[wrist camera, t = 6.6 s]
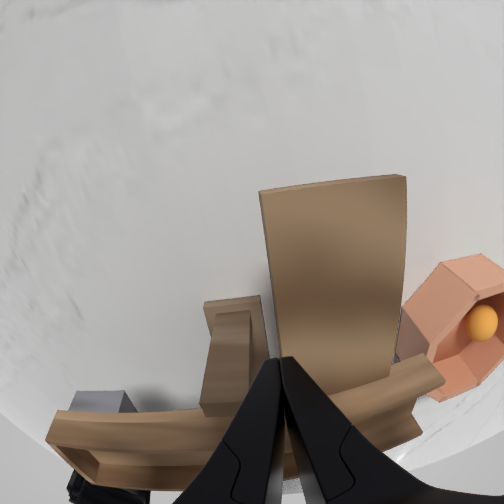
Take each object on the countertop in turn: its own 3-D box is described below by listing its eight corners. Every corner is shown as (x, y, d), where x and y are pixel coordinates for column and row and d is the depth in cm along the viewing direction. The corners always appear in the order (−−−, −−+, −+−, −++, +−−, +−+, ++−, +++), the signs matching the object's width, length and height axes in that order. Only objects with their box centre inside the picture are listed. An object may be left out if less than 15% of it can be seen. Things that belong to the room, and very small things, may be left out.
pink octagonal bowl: (478, 347, 24) (500, 374, 19) (389, 376, 24) (407, 414, 20) (503, 248, 19) (537, 270, 15) (405, 268, 20) (438, 301, 15)
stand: (275, 395, 25) (281, 480, 16) (232, 399, 25) (227, 482, 17) (259, 295, 21) (263, 391, 12) (204, 301, 21) (180, 395, 13)
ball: (484, 325, 21) (496, 346, 18) (457, 329, 22) (468, 352, 19) (492, 295, 20) (507, 315, 17) (464, 299, 21) (478, 320, 18)
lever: (394, 392, 19) (421, 434, 15) (102, 438, 18) (91, 484, 14) (420, 165, 13) (484, 180, 9) (-4, 246, 12) (-55, 280, 7)
